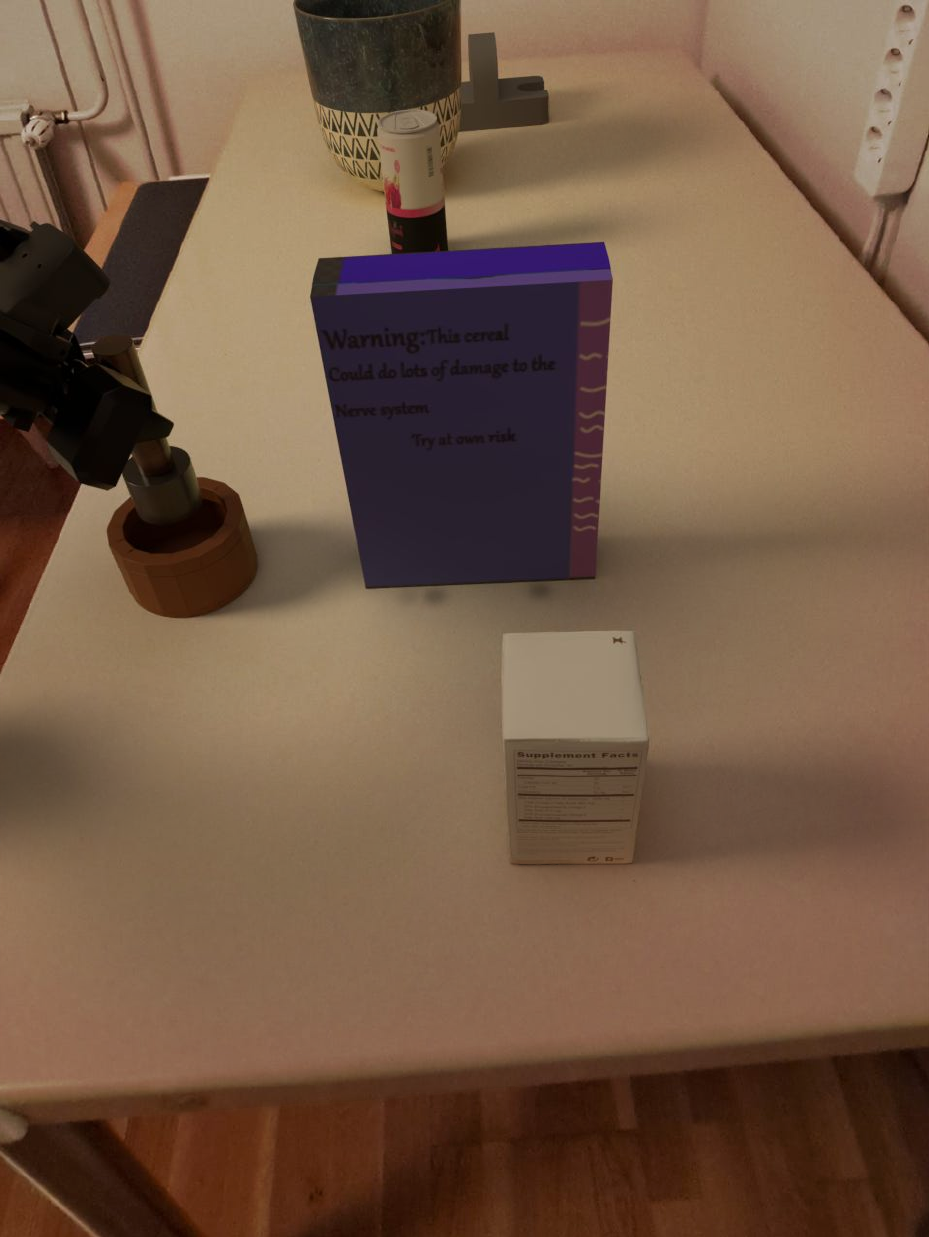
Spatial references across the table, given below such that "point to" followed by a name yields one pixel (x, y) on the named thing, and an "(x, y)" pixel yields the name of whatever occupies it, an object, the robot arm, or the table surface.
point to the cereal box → (469, 409)
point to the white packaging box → (572, 745)
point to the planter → (380, 72)
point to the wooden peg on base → (152, 452)
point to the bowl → (186, 554)
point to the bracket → (498, 92)
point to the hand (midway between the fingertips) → (160, 420)
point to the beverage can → (413, 181)
